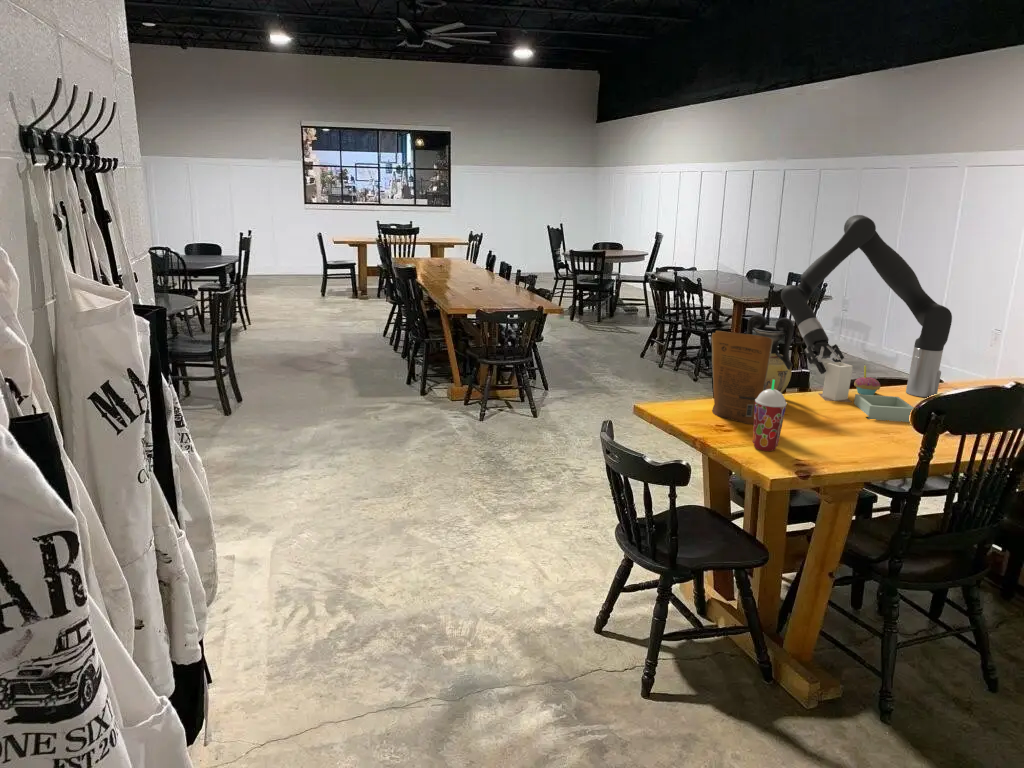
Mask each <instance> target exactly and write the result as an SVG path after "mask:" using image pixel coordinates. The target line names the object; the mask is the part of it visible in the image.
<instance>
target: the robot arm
mask: <svg viewBox="0 0 1024 768" xmlns="http://www.w3.org/2000/svg"><path fill="white" fill-rule="evenodd" d="M843 226H844V227H843V232H844V234H843V235H842V236H841V237H840V239H839V240H837V242H836V243H835V244H834V245H833V246H832V247H831V248H829V250H827V251H826V252H824V253H823V254H821V255H820V256H819V257H818V258H816V260H814V261H813V262H812V263H811V264H810V265H809V266H808V267H807V268H806V270H804V272H803V273H802V274H800V275H801V276H800V280H801V281H800V282H799V283H798V285H793V284H788V285H786V286H784V287H783V288H782V290H781V293H780V298H781V301H782V302H783V304H784V306H785V308H786V309H787V311H788V312H789V313H790V314H791V316H792V317H793V320H794V322H795V323H796V326H797V328H798V330H799V333H800V335H801V337H802V339H803V341H804V343H805V345H806V348H805V349H803V352H804V354H805V356H806V358H807V362H808V363H809V364H810V365H814V366H816V368H817V371H818V372H819V373H820V374H821V375H824V374H826V366H825V365H824V363H823V361H822V360H823V359H827V360H828V361H831V362H832V363H833V362H841V363H843V362H842V360H844V359H845V356H844V354H843V352H842V351H841V349H840V348H839V346H838V345H837V344H833V345H831V344H830V343H829V340H830V338H829V337H828V335H827V332H826V331H825V329H824V327H823V326H822V324H821V322H820V320H818V318H817V316H816V314H815V312H814V310H813V309H812V307H810V306H809V304H807V302H808V301H809V299H810V298H811V297H812V295H813V293H814V292H815V291H816V288H817V287H818V286H819V285H821V283H823V281H825V280H826V278H827V277H828V276H829V275H830V274H831V273H832V272H834V270H835V269H836V268H837V267H838V266H840V265H841V263H842V262H843V261H844V260H846V259H847V258H848V257H849V256H851V255H852V254H853V253H854V252H855V251H856V250H858V249H860V250H861V252H863V253H864V255H865V256H866V258H867V259H868V260H869V262H870V264H871V265H872V267H873V269H874V270H875V271H876V272H877V273H878V275H879V276H880V278H881V280H883V281H884V283H886V285H887V286H888V287H889V288H890V289H891V290H892V291H893V292H894V293H895V295H896V296H897V297H898V298H900V300H902V302H904V303H905V305H906V306H907V307H908V309H909V310H910V312H911V313H912V315H913V316H914V318H915V320H916V322H918V324H919V325H920V326H921V331H920V335H919V336H918V338H916V339H915V341H914V345H913V352H912V356H911V363H910V367H909V372H908V379H907V383H906V384H907V385H906V390H905V393H906V394H908V395H911V396H914V397H915V396H916V397H920V398H929V397H928V396H931V395H934V394H937V395H938V390H939V385H940V380H941V376H942V375H941V374H942V371H941V370H940V367H941V363H942V362H941V361H942V358H943V352H944V349H945V348H944V347H945V346H946V345H947V342H948V338H949V336H950V332H951V326H952V322H953V315H952V312H951V310H950V309H949V308H948V307H946V306H944V305H942V304H939V303H937V302H936V301H935V300H934V299H933V298H931V296H930V295H928V293H926V291H925V290H924V289H923V287H922V285H921V283H920V281H919V278H918V276H917V274H916V273H915V271H914V270H913V268H912V267H911V266H910V265H909V264H908V262H907V261H906V260H905V259H904V258H903V257H902V256H901V255H900V254H899V253H898V252H897V251H896V250H894V249H893V248H892V247H891V246H890V245H889V244H887V243H886V242H885V241H884V240H883V238H881V236H880V234H879V233H878V231H877V230H876V229H877V227H876V223H875V222H874V220H872V219H871V218H870V217H868V216H865V215H863V214H856V215H852V216H850V217H849V218H848V219H847V220H846V221H845V223H844V225H843Z"/></svg>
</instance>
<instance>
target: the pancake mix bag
mask: <svg viewBox="0 0 1024 768" xmlns="http://www.w3.org/2000/svg"><path fill="white" fill-rule="evenodd" d="M710 337H711V338H710V340H711V341H710V342H711V364H712V366H711V367H712V369H711V371H712V381H713V382H712V385H713V386H712V388H713V389H712V390H713V391H712V392H713V403H714V404H713V407H712V410H711V412H712V414H714V415H715V416H716V415H717V416H716V417H720V418H725V419H727V420H732V421H735V422H736V421H737V422H739V423H743V424H747V425H754V412H755V399H756V398H757V397H758V395H759V394H760V393H761V392H762V391H763V389H764V384H765V381H766V376H767V371H768V365H769V359H770V356H771V349H772V344H773V340H772V339H771V338H769V337H764V336H759V335H756V334H753V335H751V334H747V333H741V332H740V333H739V332H730V331H725V330H724V331H722V330H715V332H712V333H711V336H710Z"/></svg>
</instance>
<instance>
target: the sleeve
mask: <svg viewBox="0 0 1024 768" xmlns="http://www.w3.org/2000/svg"><path fill="white" fill-rule="evenodd" d="M841 362H842V361H841ZM841 362H833V361H832V362H827V363H826V366H825V369H826V372H825V373H824V374H825V375H824V380H823V381H824V382H823V387H822V388H823V389H822V393H821V394H822V396H823V397H826V398H829V399H832V400H835V401H834V402H838V401H837V400H845V399H849V391H850V387H851V380H852V375H853V369H854V368H853V367H854V365H851V364H848V363H844V362H842V363H841Z"/></svg>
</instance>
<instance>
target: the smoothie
mask: <svg viewBox="0 0 1024 768" xmlns="http://www.w3.org/2000/svg"><path fill="white" fill-rule="evenodd" d="M774 383H775V380H774V379H773V380H772V388H771V389H766V390H764V391H762V392H761V393H760V394H759V395H758V397H757V398H756V399H755V412H754V424H753V427H752V428H753V430H752V431H753V432H752V433H753V434H752V443H753V447H754V448H756V450H760V451H764V452H774V451H775V450H776V448H777V447H778V446H779V443H780V442H779V441H780V437H781V431H782V427H783V424H784V418H785V413H786V408H787V405H788V403H787V401H786V398H785V396H784V395H783V392H782V393H781V392H779V391H778V390H775V389H774Z"/></svg>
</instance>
